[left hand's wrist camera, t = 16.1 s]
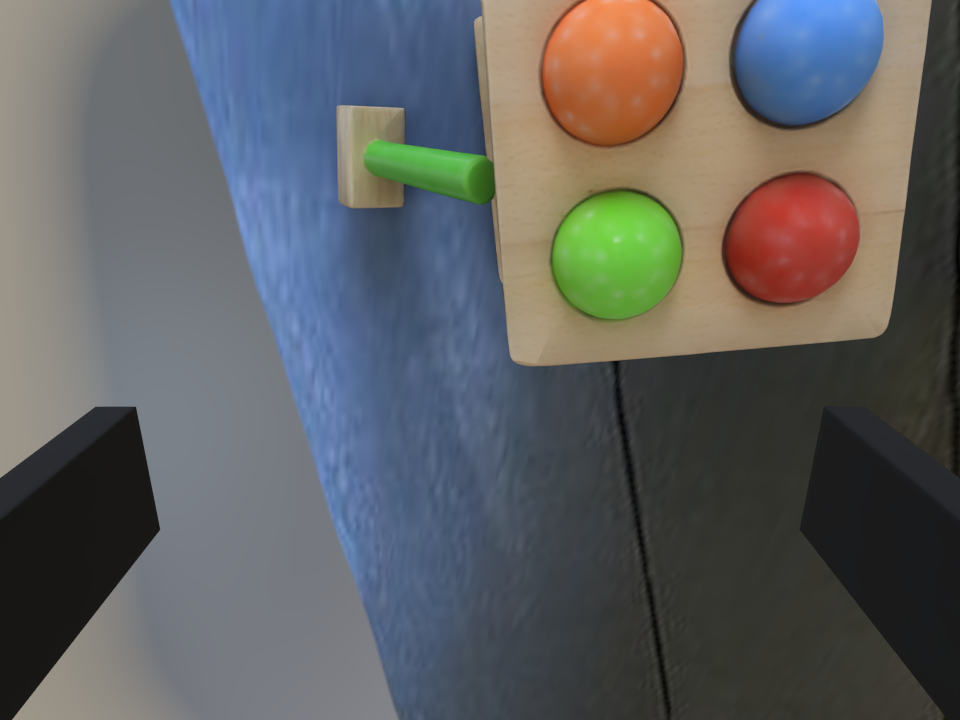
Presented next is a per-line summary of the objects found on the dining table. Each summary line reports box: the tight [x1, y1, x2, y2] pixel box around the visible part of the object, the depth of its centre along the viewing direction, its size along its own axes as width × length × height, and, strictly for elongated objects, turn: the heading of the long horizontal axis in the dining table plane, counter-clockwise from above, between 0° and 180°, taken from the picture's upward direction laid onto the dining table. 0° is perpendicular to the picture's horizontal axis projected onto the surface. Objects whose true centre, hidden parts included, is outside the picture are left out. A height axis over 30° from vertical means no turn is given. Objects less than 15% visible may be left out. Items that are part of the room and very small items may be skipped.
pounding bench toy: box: [337, 0, 932, 366], centre depth 29 cm, size 23×14×18 cm, turn 95°
